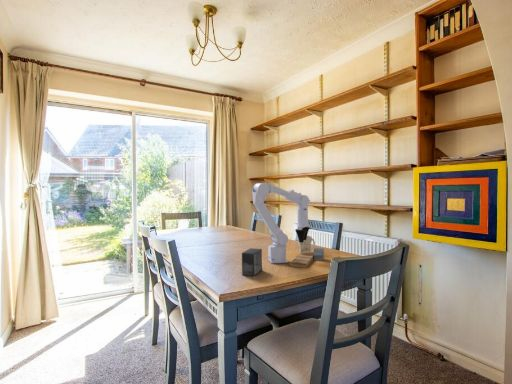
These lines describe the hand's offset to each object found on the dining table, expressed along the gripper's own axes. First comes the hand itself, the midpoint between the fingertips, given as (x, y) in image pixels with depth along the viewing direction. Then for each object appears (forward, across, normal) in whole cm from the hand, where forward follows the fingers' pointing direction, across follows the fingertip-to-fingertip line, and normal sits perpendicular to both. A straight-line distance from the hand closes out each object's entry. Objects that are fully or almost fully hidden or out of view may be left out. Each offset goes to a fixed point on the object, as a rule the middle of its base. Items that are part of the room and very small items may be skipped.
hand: (302, 241), depth 159 cm
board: (+10, -5, -2) cm, 11 cm away
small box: (+10, -34, +16) cm, 39 cm away
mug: (+10, +16, +1) cm, 19 cm away
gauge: (+10, +2, -5) cm, 11 cm away
